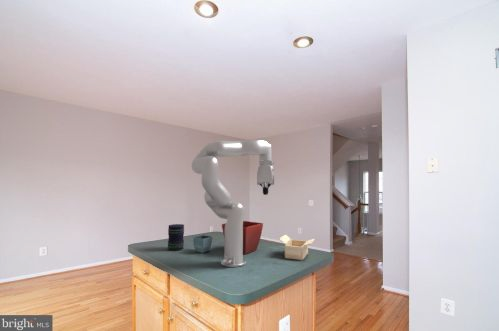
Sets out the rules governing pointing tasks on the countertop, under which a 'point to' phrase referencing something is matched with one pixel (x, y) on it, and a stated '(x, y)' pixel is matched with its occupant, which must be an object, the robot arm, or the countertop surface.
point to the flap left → (284, 239)
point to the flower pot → (202, 243)
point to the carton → (296, 249)
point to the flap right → (308, 242)
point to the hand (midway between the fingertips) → (265, 194)
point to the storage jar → (176, 237)
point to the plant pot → (249, 235)
